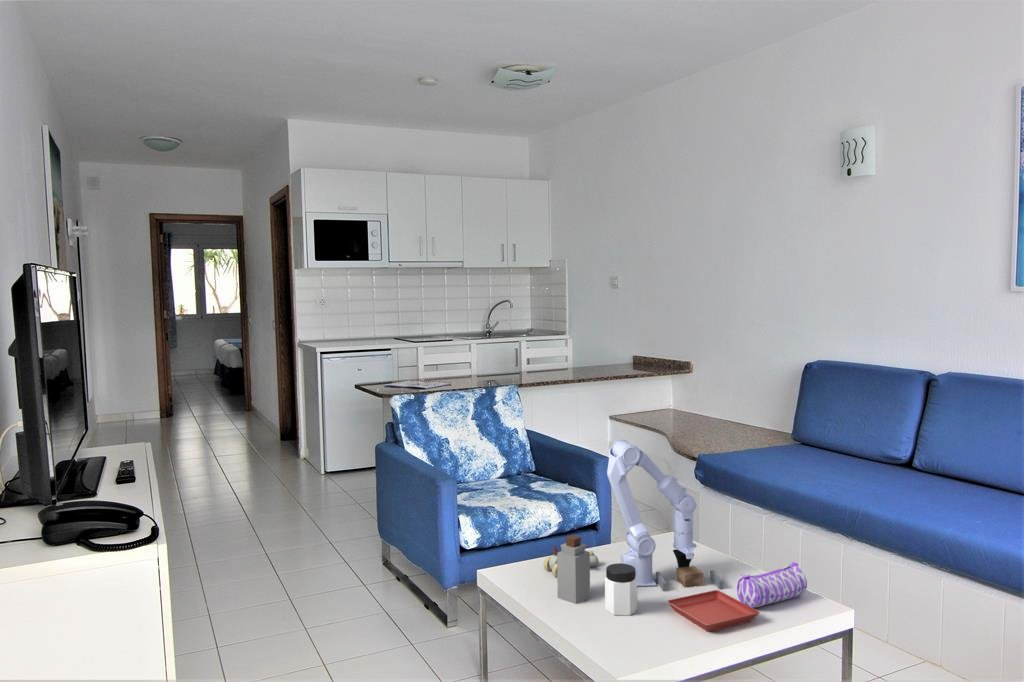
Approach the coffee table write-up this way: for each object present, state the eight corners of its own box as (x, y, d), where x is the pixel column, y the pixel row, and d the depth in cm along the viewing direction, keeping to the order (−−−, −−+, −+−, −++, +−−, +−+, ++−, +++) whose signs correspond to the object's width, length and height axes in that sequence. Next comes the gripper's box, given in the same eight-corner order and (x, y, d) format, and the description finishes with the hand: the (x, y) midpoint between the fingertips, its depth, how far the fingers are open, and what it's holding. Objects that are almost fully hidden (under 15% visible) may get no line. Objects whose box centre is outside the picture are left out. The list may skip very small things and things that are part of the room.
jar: (642, 613, 215) (642, 570, 214) (617, 618, 212) (617, 576, 211) (624, 601, 223) (624, 560, 222) (600, 606, 220) (599, 565, 219)
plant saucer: (665, 611, 217) (665, 599, 217) (717, 599, 225) (717, 588, 224) (706, 637, 201) (706, 625, 200) (761, 624, 208) (761, 612, 208)
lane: (663, 591, 230) (663, 583, 230) (655, 579, 239) (655, 572, 239) (722, 589, 231) (722, 581, 231) (713, 577, 240) (713, 570, 240)
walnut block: (685, 587, 233) (685, 574, 232) (676, 580, 239) (676, 567, 238) (703, 585, 234) (703, 572, 234) (694, 578, 240) (694, 565, 240)
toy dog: (602, 567, 252) (602, 540, 251) (567, 583, 238) (567, 555, 237) (572, 558, 260) (572, 532, 259) (536, 574, 246) (536, 546, 246)
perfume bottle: (590, 596, 227) (589, 536, 226) (575, 604, 222) (575, 542, 221) (572, 590, 232) (571, 532, 230) (557, 597, 227) (557, 537, 225)
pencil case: (784, 587, 232) (785, 556, 232) (811, 597, 224) (811, 565, 224) (733, 604, 221) (733, 571, 220) (759, 615, 213) (759, 582, 212)
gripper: (703, 538, 233) (703, 582, 234) (689, 523, 247) (689, 564, 248) (680, 538, 232) (680, 582, 233) (667, 524, 247) (667, 565, 248)
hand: (683, 573), depth 241 cm, fingers closed
